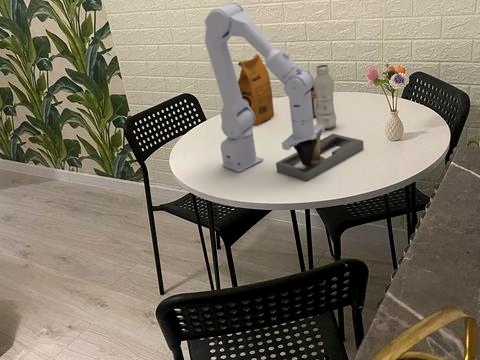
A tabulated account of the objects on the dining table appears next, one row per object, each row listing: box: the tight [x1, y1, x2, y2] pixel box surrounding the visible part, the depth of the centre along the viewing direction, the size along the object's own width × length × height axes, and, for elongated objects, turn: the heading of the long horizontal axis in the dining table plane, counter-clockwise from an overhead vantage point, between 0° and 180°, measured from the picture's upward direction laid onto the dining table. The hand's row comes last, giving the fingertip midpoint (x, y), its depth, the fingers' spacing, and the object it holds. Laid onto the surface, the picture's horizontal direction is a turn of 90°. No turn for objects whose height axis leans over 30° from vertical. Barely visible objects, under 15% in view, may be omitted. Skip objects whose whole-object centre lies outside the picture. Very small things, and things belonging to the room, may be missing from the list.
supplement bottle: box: [309, 86, 317, 119], centre depth 174 cm, size 6×6×11 cm
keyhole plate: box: [275, 133, 365, 182], centre depth 142 cm, size 24×11×3 cm, turn 131°
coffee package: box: [237, 53, 275, 127], centre depth 176 cm, size 10×12×22 cm
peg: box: [310, 131, 326, 166], centre depth 140 cm, size 6×6×9 cm
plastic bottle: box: [313, 64, 337, 130], centre depth 160 cm, size 6×7×20 cm
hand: (306, 164), depth 139 cm, fingers closed
